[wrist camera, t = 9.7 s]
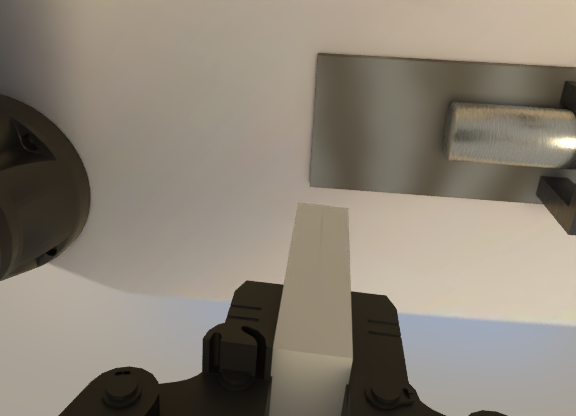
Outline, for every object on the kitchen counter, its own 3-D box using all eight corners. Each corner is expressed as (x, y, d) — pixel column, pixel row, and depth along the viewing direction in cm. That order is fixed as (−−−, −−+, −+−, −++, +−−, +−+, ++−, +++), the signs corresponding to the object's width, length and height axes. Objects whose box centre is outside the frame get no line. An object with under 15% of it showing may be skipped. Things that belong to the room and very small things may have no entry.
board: (310, 181, 42) (309, 186, 41) (318, 53, 38) (317, 55, 37) (719, 212, 40) (727, 218, 39) (776, 79, 36) (787, 82, 35)
